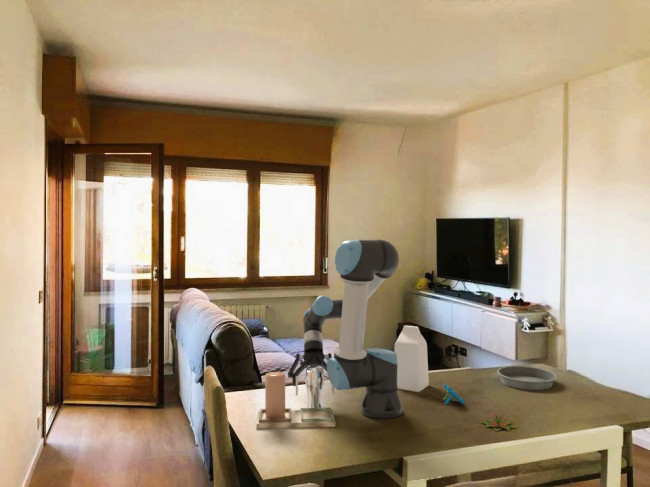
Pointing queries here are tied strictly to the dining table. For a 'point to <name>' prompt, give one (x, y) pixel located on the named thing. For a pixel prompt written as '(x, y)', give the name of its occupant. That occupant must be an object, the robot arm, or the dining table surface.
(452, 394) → the toy gun
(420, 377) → the milk
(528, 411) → the dining table surface
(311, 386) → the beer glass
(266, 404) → the tan tall block
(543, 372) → the cake pan
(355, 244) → the robot arm
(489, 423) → the lily flower
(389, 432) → the dining table surface
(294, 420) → the board
